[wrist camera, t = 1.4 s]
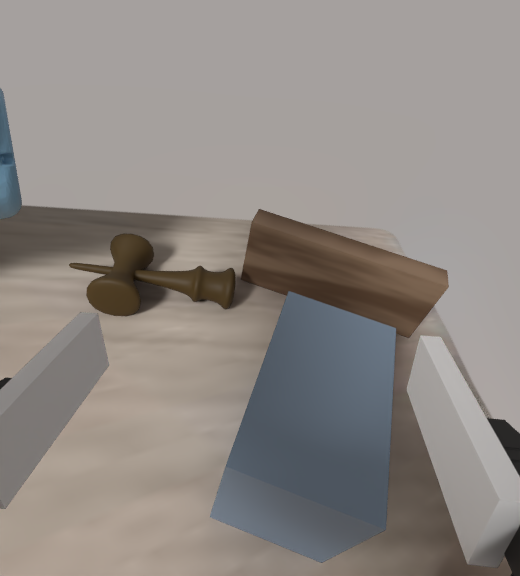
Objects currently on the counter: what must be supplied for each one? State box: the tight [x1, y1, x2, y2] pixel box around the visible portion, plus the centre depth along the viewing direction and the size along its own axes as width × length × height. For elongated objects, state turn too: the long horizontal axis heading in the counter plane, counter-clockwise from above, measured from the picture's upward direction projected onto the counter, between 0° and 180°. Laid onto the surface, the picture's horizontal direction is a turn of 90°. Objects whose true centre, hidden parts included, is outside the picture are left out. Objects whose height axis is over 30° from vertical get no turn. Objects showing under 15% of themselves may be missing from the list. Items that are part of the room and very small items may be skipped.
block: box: [210, 291, 396, 563], centre depth 32 cm, size 16×10×13 cm, turn 163°
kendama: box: [69, 234, 235, 316], centre depth 46 cm, size 6×10×20 cm
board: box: [241, 209, 449, 338], centre depth 48 cm, size 3×24×10 cm, turn 73°
